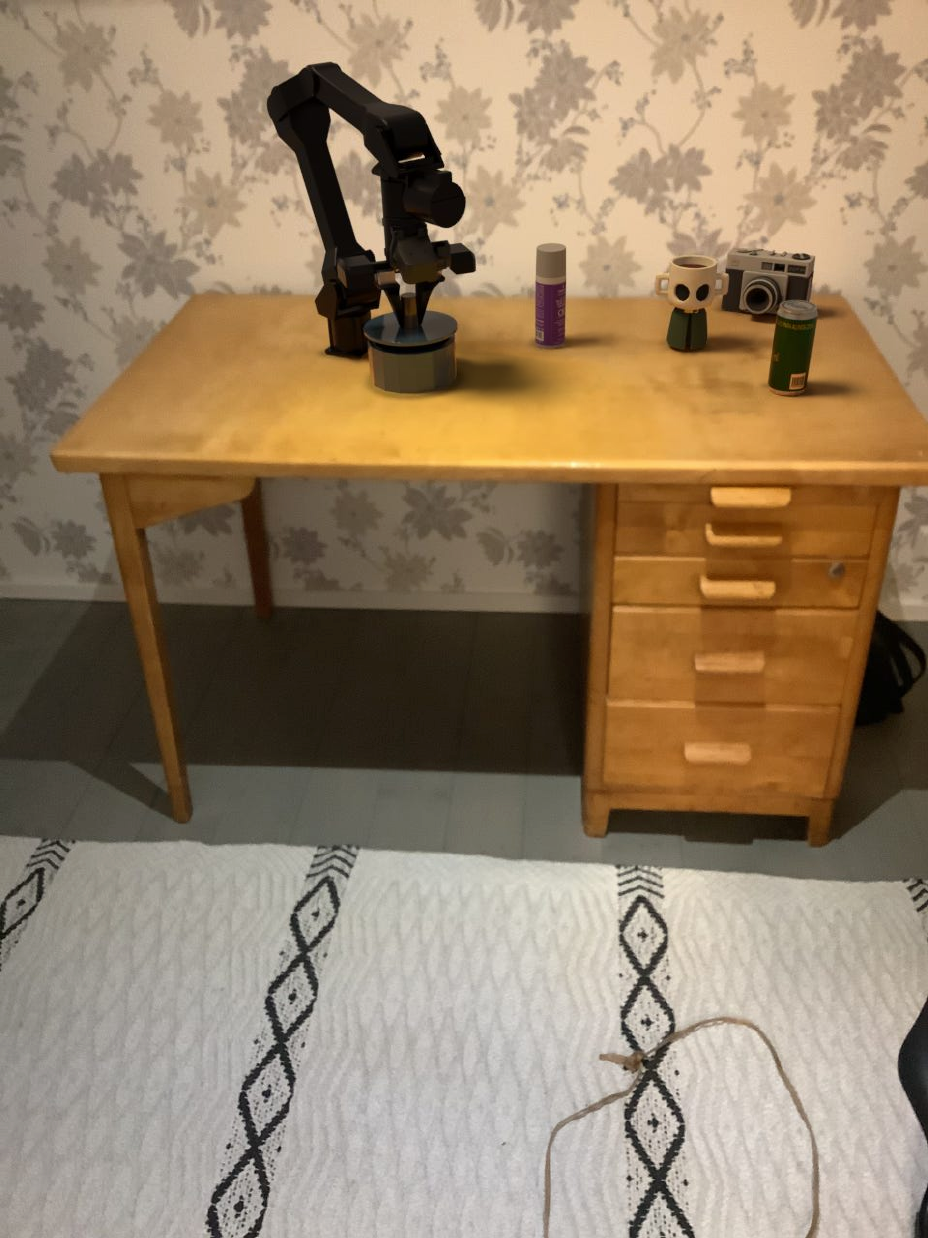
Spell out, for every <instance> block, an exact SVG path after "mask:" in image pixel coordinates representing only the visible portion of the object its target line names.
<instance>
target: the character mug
mask: <svg viewBox="0 0 928 1238" xmlns="http://www.w3.org/2000/svg"><path fill="white" fill-rule="evenodd" d="M664 280H666V281H667V286H666V287H667V288H662V281H664ZM720 280H721V288H716V284H717V283H716V282H717V281H720ZM728 284H729V275H728V274H726V273H725V272H718V261H717V260H716V259H715V258H713V257H711V256H706V255H701V254H684V255H683V254H682V255H678V256H675V257H672V258H671V259H670V260H669V261H668V272H659V273H656V274H655V277H654V289H653V290H654V294H655V295H657V296H666V300H667V303H668V304H669V305H670V306H672V307H674V308H673V309H672V311H671V313H670V319H669V323H668V327H667V333H666V338H665V341H666V343H667V345H668V346H670V347H672V348H674V349H678V350H679V349H680V350H685V349H686V345H690V350H697V349H701V348H703V347H705V346H707V343H708V316H707V315H708V314H707V311H706V308H707V307H709V306H711V305H712V303H713V302H714V299H715V296H723V295H726V294H727V292H728Z"/></svg>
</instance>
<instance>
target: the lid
mask: <svg viewBox="0 0 928 1238" xmlns="http://www.w3.org/2000/svg"><path fill="white" fill-rule="evenodd" d="M400 299H401V305H402V312H403V320H404V327H400V326H399V324H398V321H397V319H396V317H395V314H394V312H393V311H391V312H387V313H383V314H381V315H378V316H375V317H373V318H371V320H369V321H368V322H367V323H366V324H365V326H364V334H365V336H366V337H367V338H368V339H370V340H372V341H374V342H377V343H380V344H385V345H391V346H420V345H427V344H432V343H436V342H439V341H442V340H445V339H447V338H449V337H451V336H452V335H454V334H455V335H456V333H457V331H458V329H459V323H458V321H457V319H456V318H454V317H453V316H452V315H449V314H447V313H444V312H440V311H435V310H428V309H426V312H425V315H424V319H423V322H422V324H421V325H419V317H418V299H417V294H416V293H415V292H411V291H410V292H409V291H408V292H403V293H400Z"/></svg>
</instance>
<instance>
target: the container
mask: <svg viewBox="0 0 928 1238" xmlns="http://www.w3.org/2000/svg"><path fill="white" fill-rule="evenodd" d="M535 255H536V256H535V280H534V281H535V283H534V284H535V287H534V288H535V289H534V290H535V295H534V296H535V297H534V300H535V302H534V303H535V305H534V308H535V309H534V311H535V312H534V313H535V314H534V320H535V321H534V326H535V327H534V344H535V346H536V347H538V348H540V349H545V350H554V349H559V348H560V349H561V348H562V347H564V346H565V344H566V309H567V307H566V305H567V246H566V245H565V244H562V243H557V242H546V243H541V244H538V245H537V246H536V253H535Z"/></svg>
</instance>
